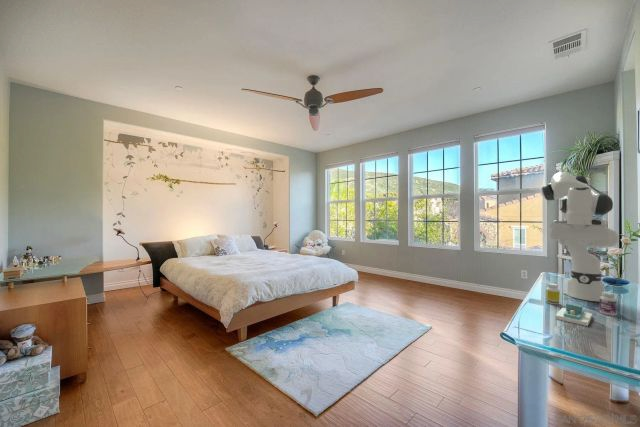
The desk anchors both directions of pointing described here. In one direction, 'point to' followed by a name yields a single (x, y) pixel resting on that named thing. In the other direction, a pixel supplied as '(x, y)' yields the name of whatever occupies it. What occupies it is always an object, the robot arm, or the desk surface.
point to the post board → (583, 320)
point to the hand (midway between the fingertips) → (579, 250)
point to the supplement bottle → (552, 294)
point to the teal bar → (576, 308)
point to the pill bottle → (608, 304)
